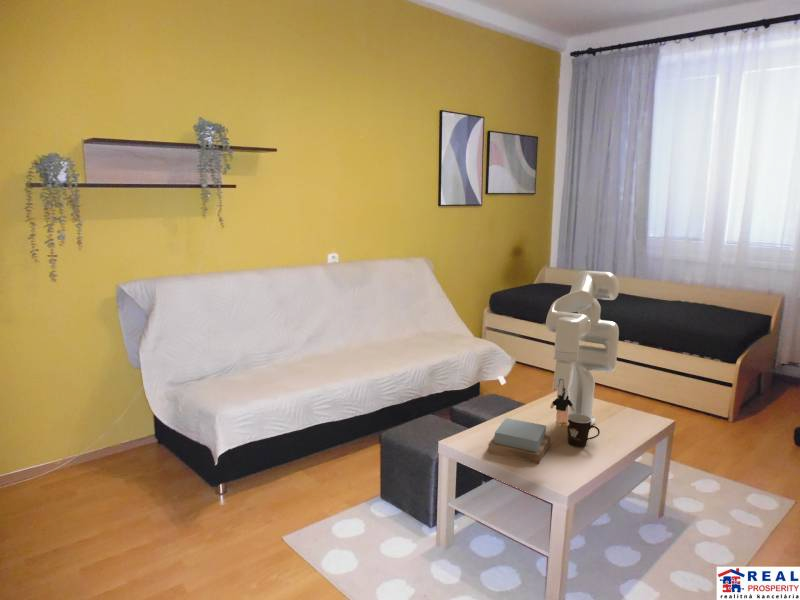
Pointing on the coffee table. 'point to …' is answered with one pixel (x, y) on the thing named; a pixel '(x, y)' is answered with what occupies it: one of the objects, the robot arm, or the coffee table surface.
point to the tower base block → (520, 451)
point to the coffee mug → (579, 430)
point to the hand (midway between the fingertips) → (561, 407)
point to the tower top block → (520, 434)
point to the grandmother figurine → (562, 412)
